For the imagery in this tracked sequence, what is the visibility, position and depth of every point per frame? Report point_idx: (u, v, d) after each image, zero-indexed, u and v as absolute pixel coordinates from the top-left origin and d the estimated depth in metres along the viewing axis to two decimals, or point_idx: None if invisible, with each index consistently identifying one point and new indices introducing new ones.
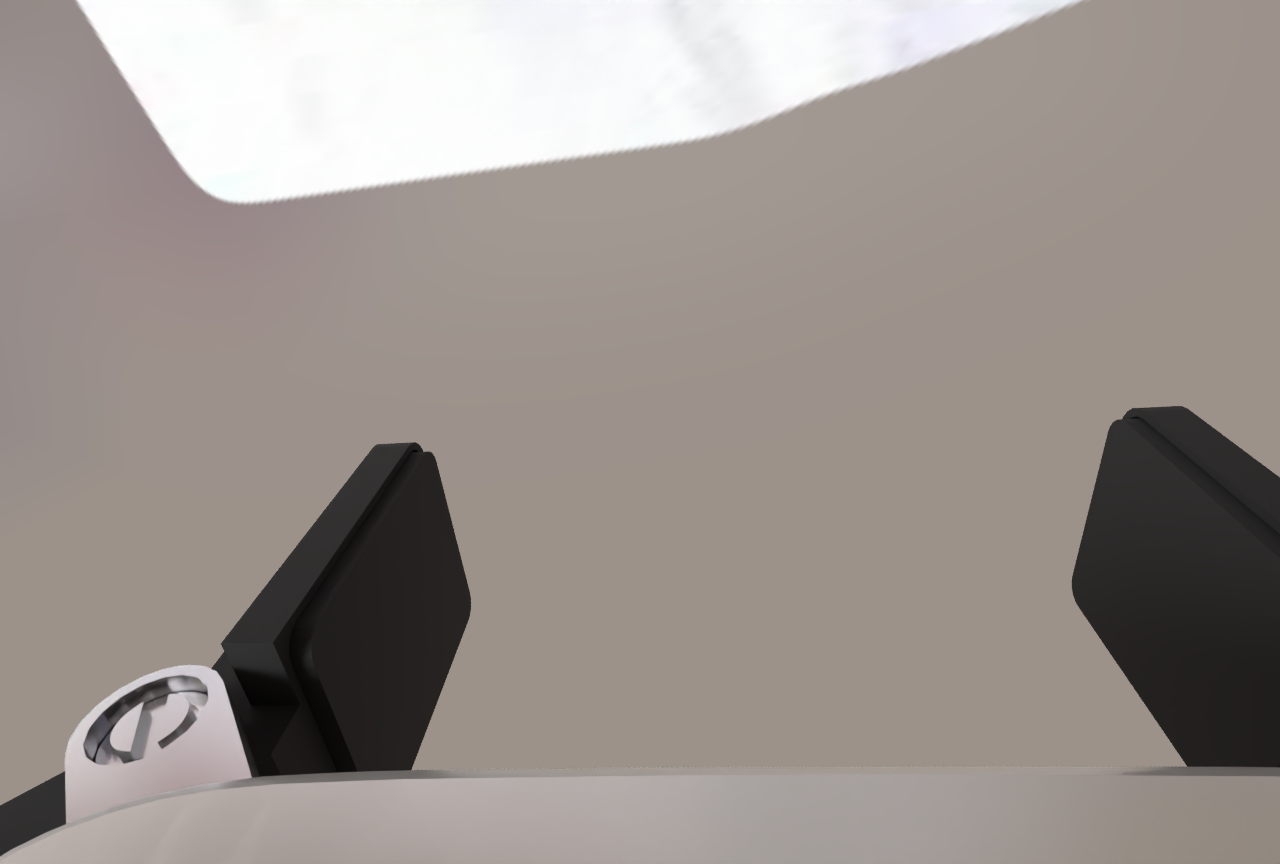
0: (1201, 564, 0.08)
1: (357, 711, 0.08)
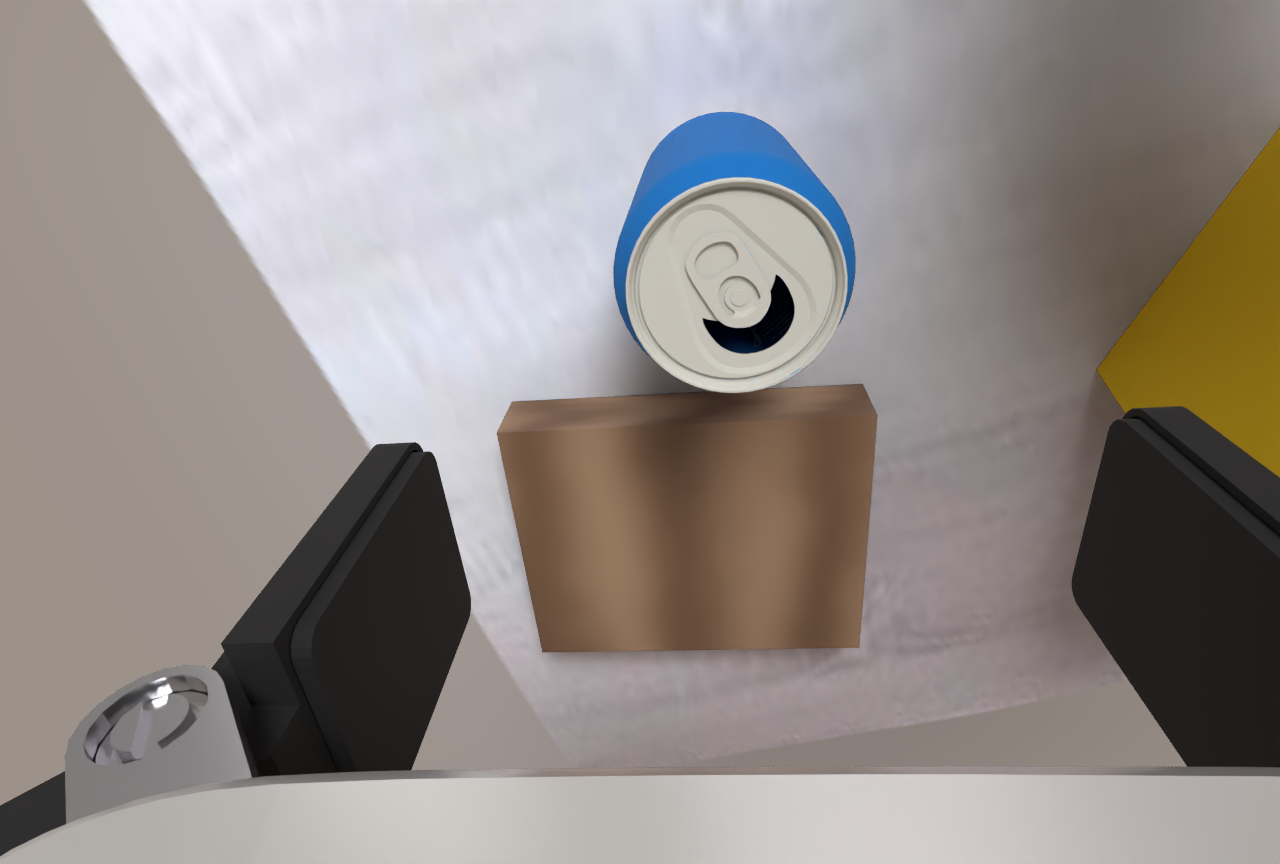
0: (1201, 564, 0.08)
1: (357, 711, 0.08)
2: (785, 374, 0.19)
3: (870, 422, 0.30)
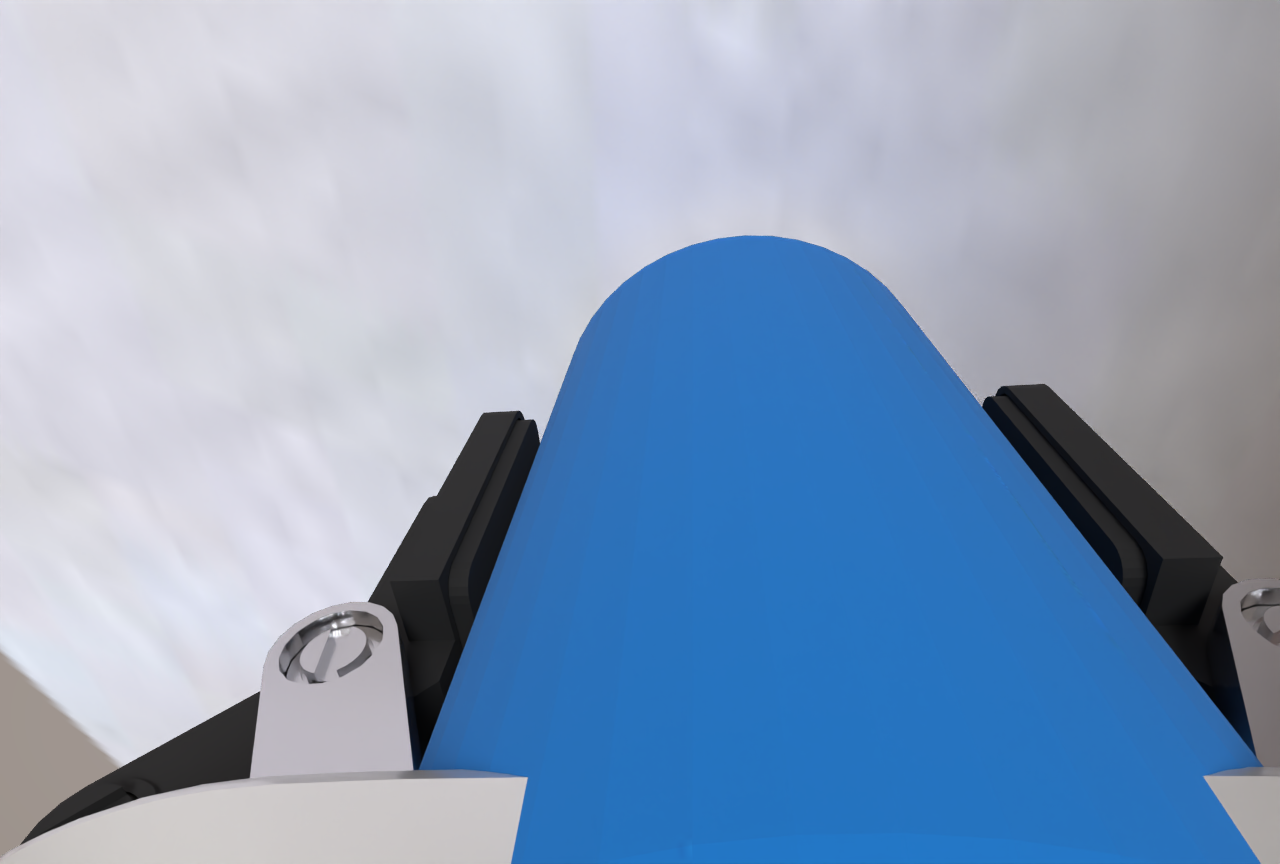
0: None
1: None
2: None
3: None
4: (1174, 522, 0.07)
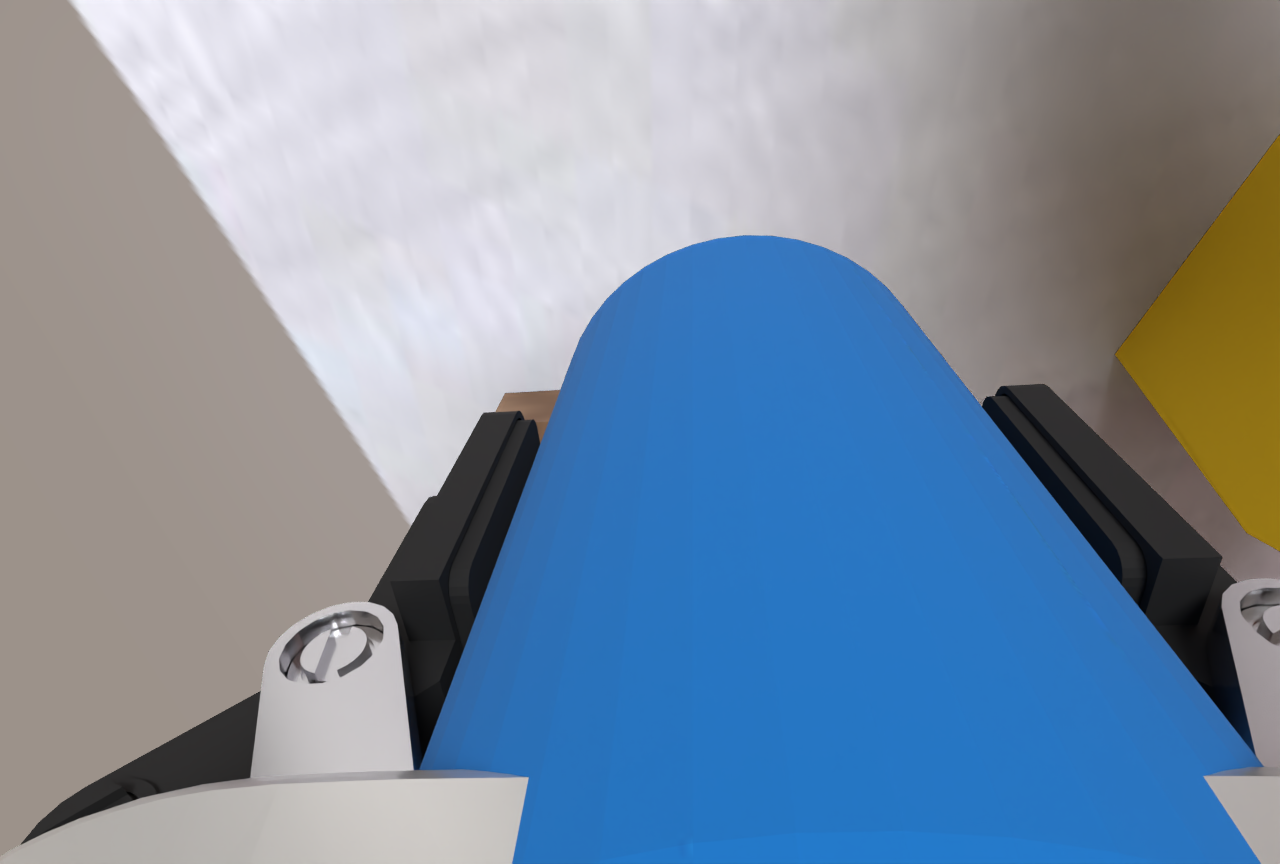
0: None
1: None
2: None
3: None
4: (1173, 522, 0.07)
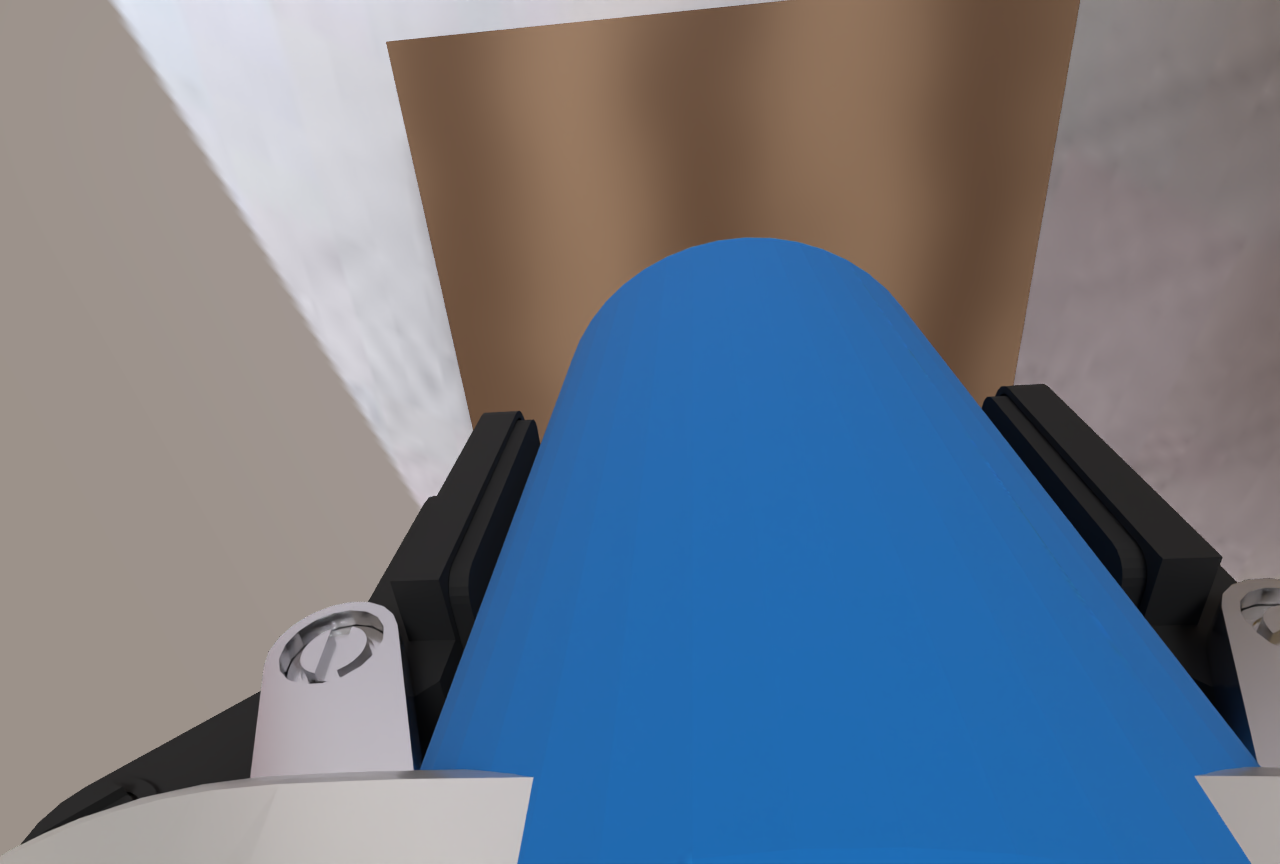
0: None
1: None
2: None
3: None
4: (1173, 522, 0.07)
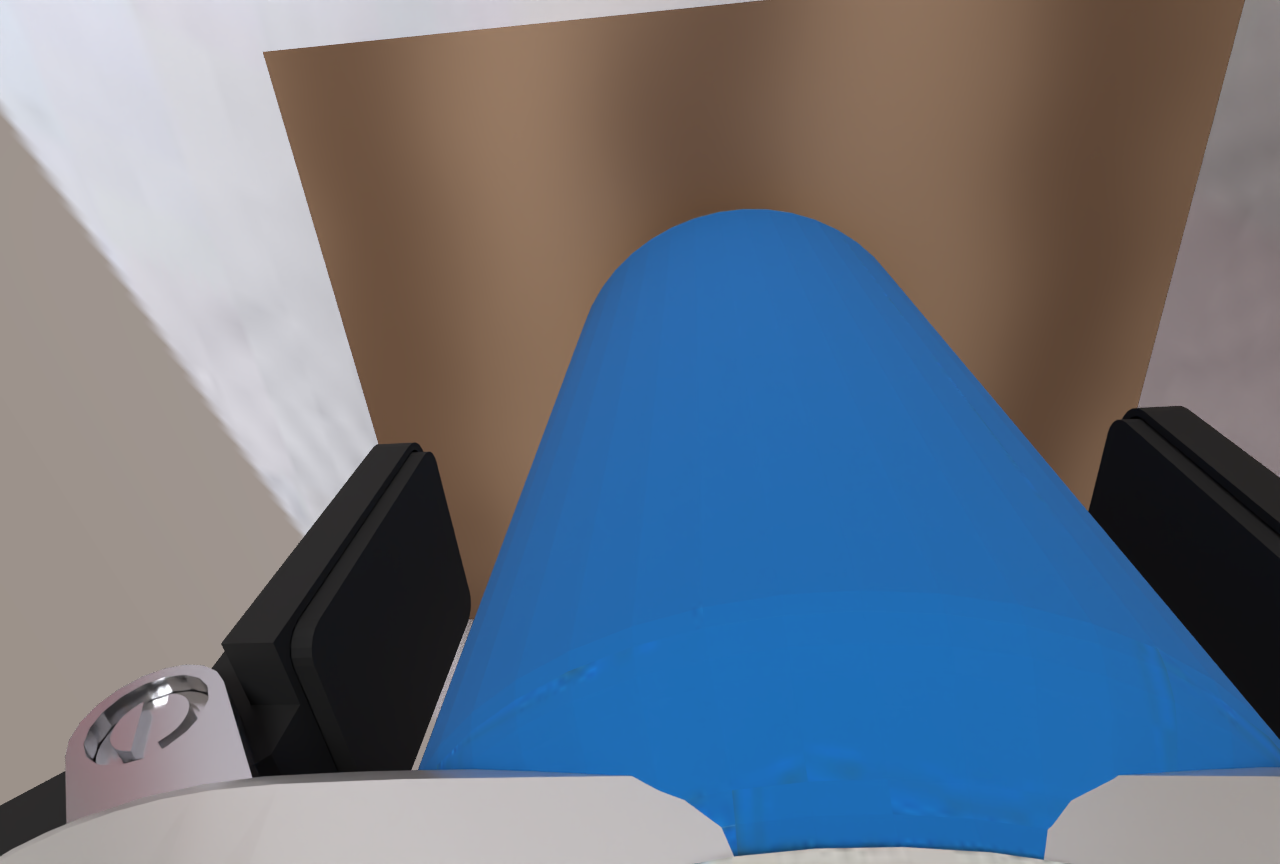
0: (1201, 564, 0.08)
1: (357, 711, 0.08)
2: None
3: None
4: None
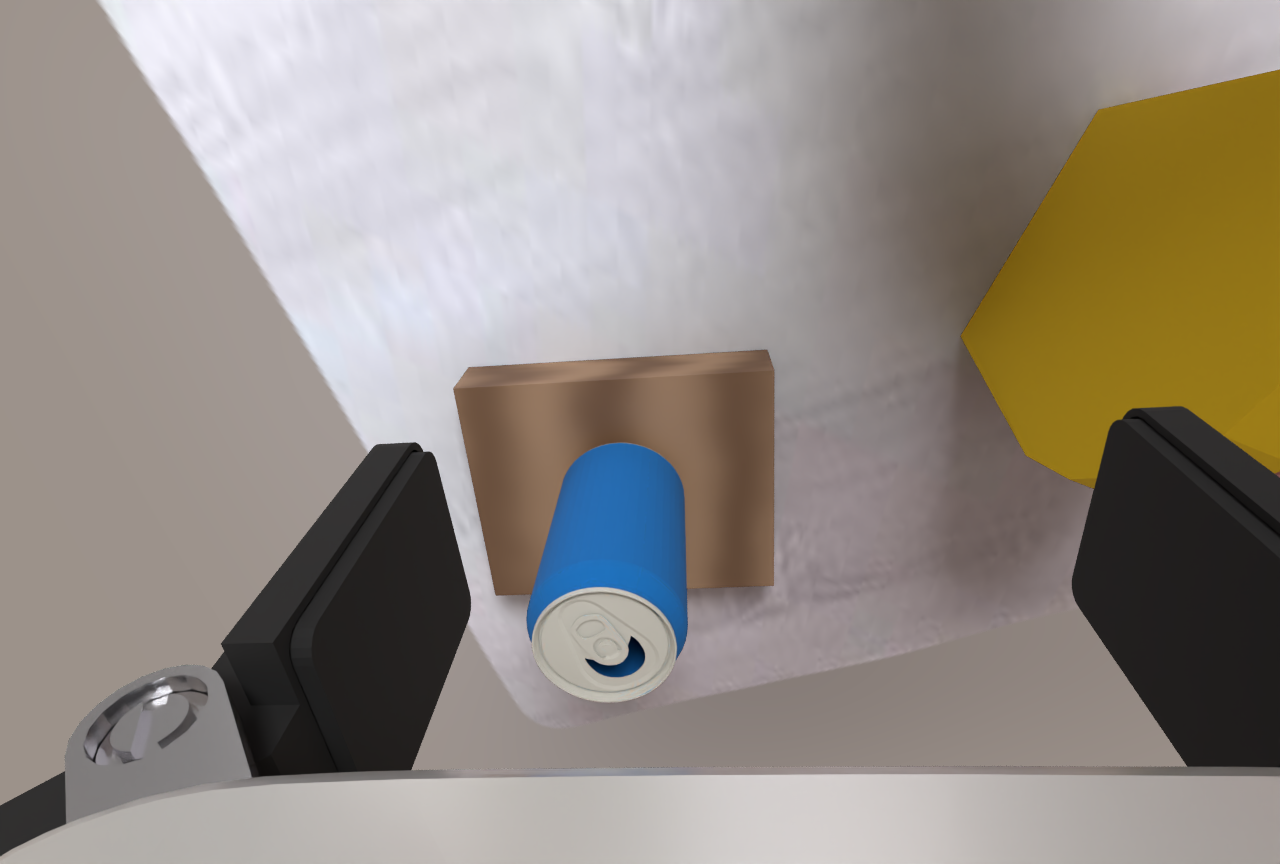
0: (1201, 564, 0.08)
1: (357, 711, 0.08)
2: (642, 692, 0.29)
3: (769, 376, 0.35)
4: None
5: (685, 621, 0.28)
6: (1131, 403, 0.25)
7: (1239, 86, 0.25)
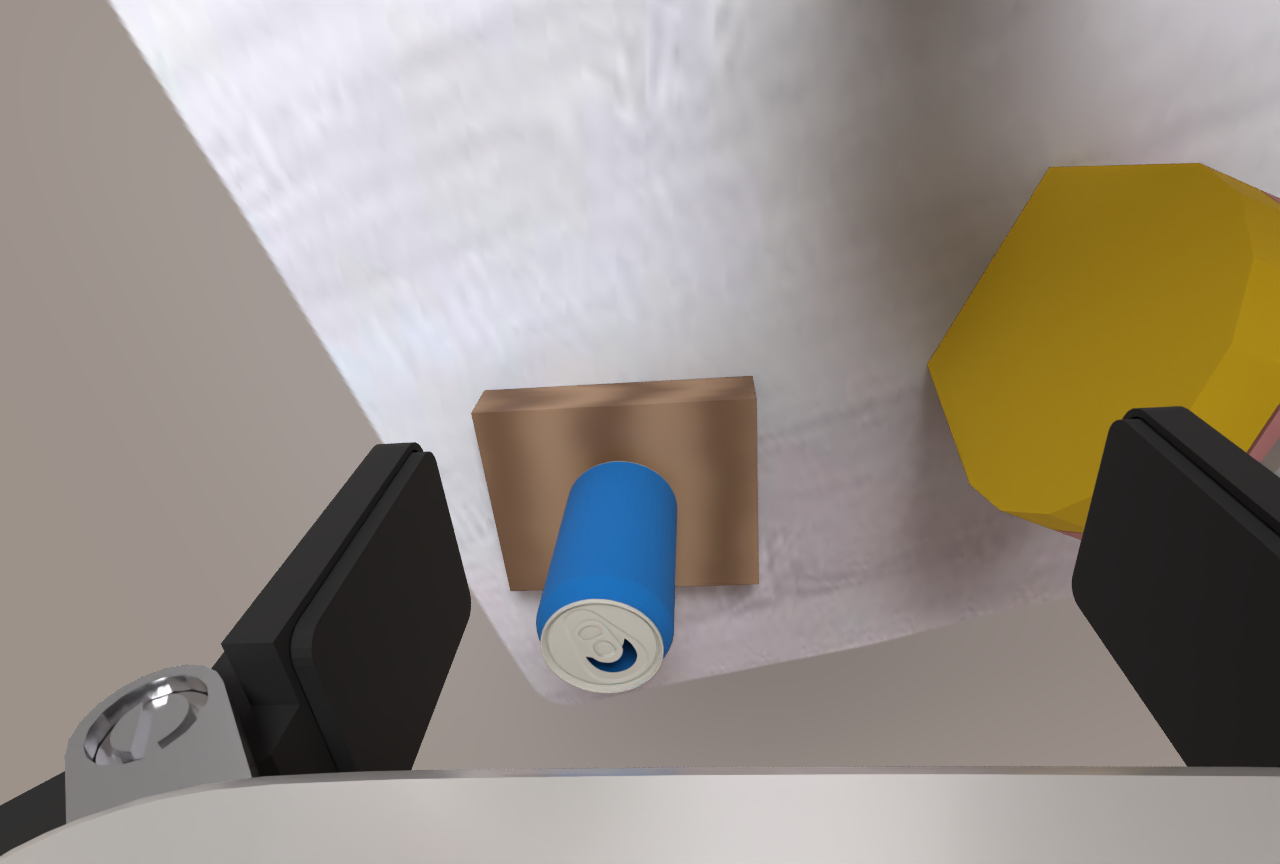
0: (1201, 564, 0.08)
1: (357, 711, 0.08)
2: (634, 685, 0.34)
3: (751, 404, 0.40)
4: None
5: (671, 626, 0.33)
6: (1050, 449, 0.29)
7: (1154, 171, 0.28)
